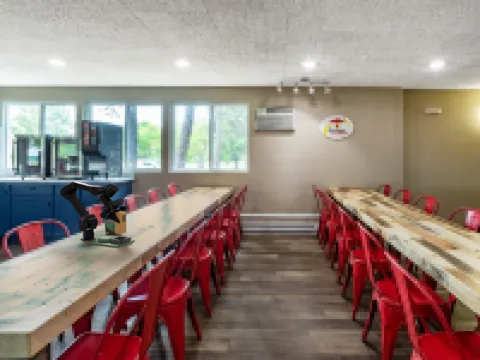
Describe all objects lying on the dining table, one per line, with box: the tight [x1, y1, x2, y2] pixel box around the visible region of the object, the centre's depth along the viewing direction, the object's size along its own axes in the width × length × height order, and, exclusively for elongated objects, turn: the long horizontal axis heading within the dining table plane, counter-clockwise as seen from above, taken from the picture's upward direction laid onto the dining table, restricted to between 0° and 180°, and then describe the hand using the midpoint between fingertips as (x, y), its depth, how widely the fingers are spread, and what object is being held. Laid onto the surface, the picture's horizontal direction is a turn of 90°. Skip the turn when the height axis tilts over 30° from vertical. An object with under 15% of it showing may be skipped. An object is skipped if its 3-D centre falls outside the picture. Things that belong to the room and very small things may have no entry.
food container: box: [103, 219, 118, 236], centre depth 216 cm, size 12×6×10 cm, turn 143°
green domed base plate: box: [89, 235, 135, 248], centre depth 193 cm, size 20×15×4 cm
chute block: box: [115, 211, 127, 235], centre depth 190 cm, size 5×5×12 cm
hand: (122, 222), depth 190 cm, fingers closed on chute block, 5 cm apart
